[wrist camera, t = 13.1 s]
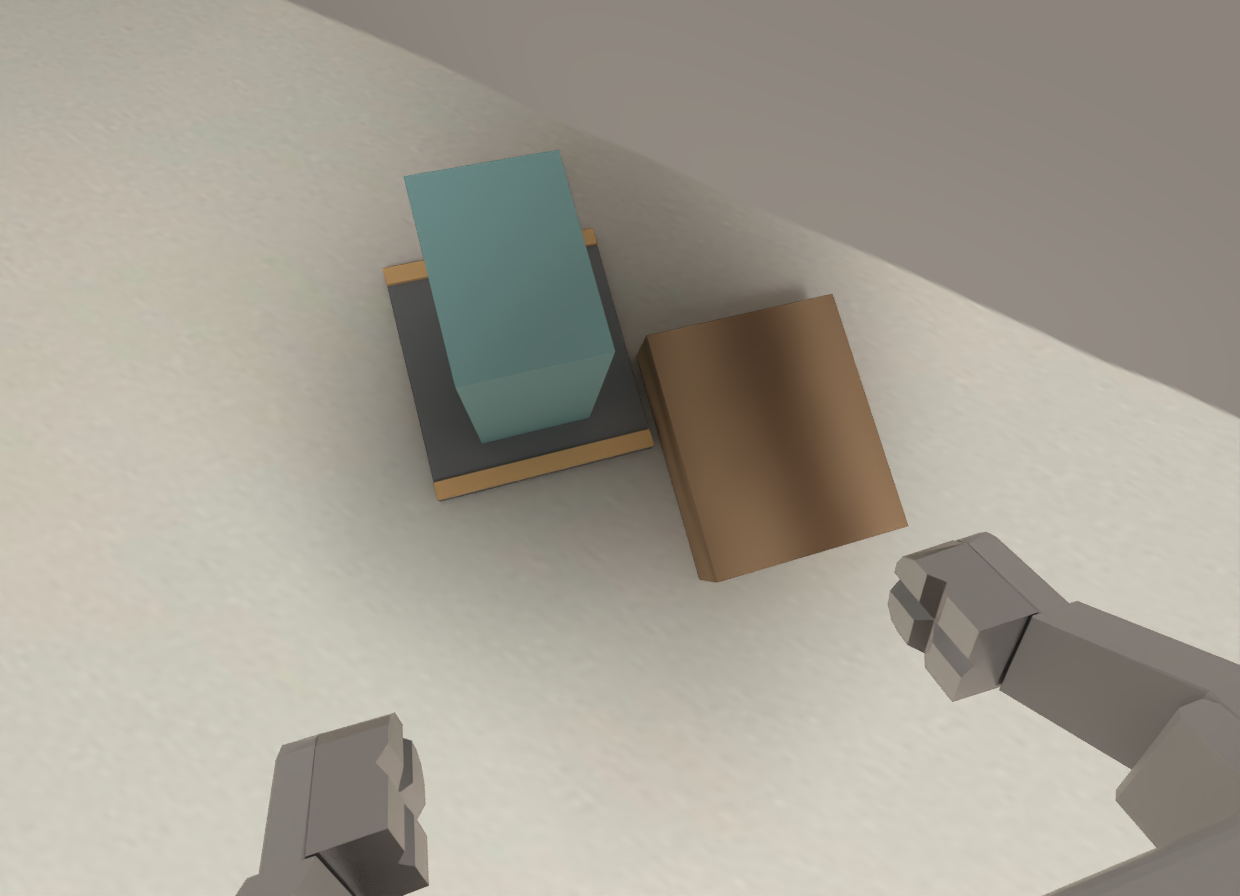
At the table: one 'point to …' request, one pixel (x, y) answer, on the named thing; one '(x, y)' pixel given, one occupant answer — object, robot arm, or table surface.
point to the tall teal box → (513, 292)
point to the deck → (768, 437)
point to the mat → (513, 459)
